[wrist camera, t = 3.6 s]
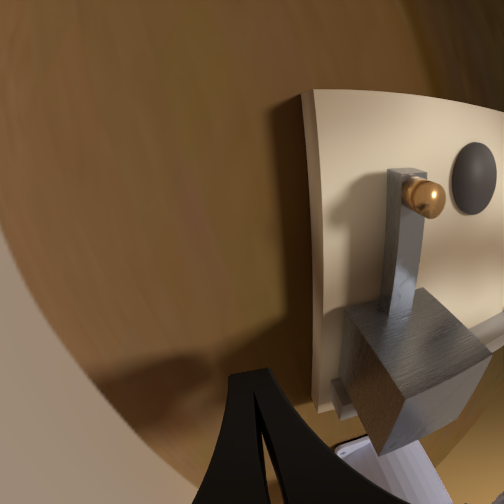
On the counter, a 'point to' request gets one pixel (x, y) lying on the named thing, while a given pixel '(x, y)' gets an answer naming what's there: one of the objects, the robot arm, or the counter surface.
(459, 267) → the bolt board
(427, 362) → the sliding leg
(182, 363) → the counter surface
